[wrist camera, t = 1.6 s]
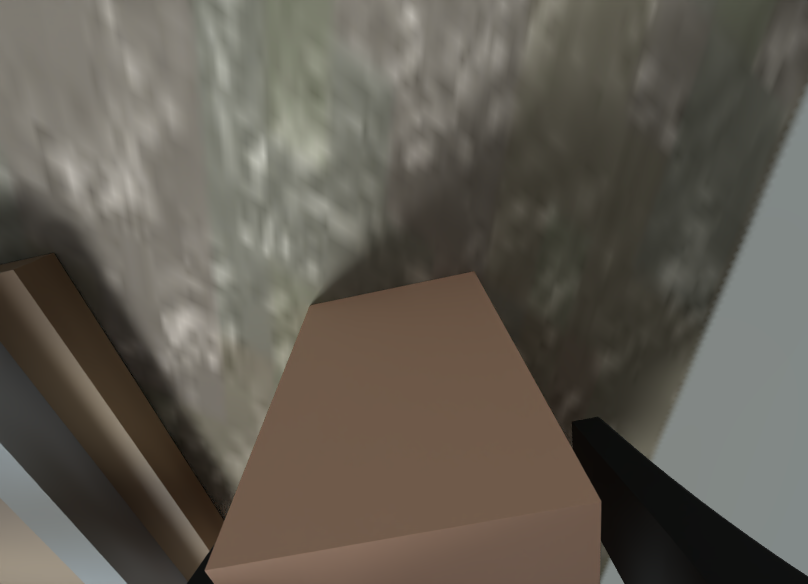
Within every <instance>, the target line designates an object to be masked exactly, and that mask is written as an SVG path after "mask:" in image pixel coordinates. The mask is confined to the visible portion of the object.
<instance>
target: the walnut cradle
mask: <svg viewBox="0 0 808 584" xmlns="http://www.w3.org/2000/svg"><path fill="white" fill-rule="evenodd" d="M223 523H224V520H223V518H222V517H221V515H220V514H219V512H218V511H217V509H216V507H215V506H214V504H213V503H212V501H211V500H210V498H209V496H208V495H207V493H206V492H205V490H204V489H203V487H202V485H201V484H200V482H199V481H198V479H197V478H196V476H195V474H194V473H193V471H192V470H191V468H190V467H189V465H188V463H187V462H186V460H185V459H184V457H183V456H182V454H181V452H180V451H179V449H178V448H177V446H176V445H175V443H174V441H173V440H172V438H171V437H170V435H169V434H168V432H167V430H166V429H165V427H164V426H163V424H162V423H161V421H160V419H159V418H158V416H157V415H156V413H155V412H154V410H153V408H152V407H151V405H150V404H149V402H148V401H147V399H146V397H145V396H144V394H143V393H142V391H141V390H140V388H139V386H138V385H137V383H136V382H135V380H134V379H133V377H132V375H131V374H130V372H129V371H128V369H127V368H126V366H125V364H124V363H123V361H122V360H121V358H120V357H119V355H118V353H117V352H116V350H115V349H114V347H113V346H112V344H111V342H110V341H109V339H108V338H107V336H106V335H105V333H104V331H103V330H102V328H101V327H100V325H99V324H98V322H97V320H96V319H95V317H94V316H93V314H92V313H91V311H90V309H89V308H88V306H87V305H86V303H85V302H84V300H83V298H82V297H81V295H80V294H79V292H78V290H77V289H76V287H75V286H74V284H73V283H72V281H71V279H70V278H69V276H68V275H67V273H66V272H65V270H64V268H63V267H62V265H61V264H60V262H59V261H58V259H57V257H56V256H55V254H54V253H51V254H46V255H42V256H37V257H33V258H28V259H24V260H19V261H15V262H10V263H6V264H1V265H0V584H187V582H188V581H189V579H190V578H191V577H192V575H193V574H194V572H195V571H196V570H197V568H198V567H199V565H200V564H201V562H202V561H203V560H204V558H205V557H206V555H207V554H208V552H209V551H210V550H211V548H212V547H213V545H214V544H215V542H216V541H217V538H218V535H219V533H220V530H221V528H222V525H223Z"/></svg>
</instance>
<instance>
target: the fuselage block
mask: <svg viewBox="0 0 808 584" xmlns="http://www.w3.org/2000/svg"><path fill="white" fill-rule="evenodd" d="M600 548H601V500H600V498H599V496H598V494H597V493H596V491H595V489H594V487H593V485H592V483H591V482H590V480H589V478H588V476H587V474H586V473H585V471H584V469H583V467H582V465H581V464H580V462H579V460H578V458H577V456H576V455H575V453H574V451H573V449H572V447H571V445H570V444H569V442H568V440H567V438H566V436H565V435H564V433H563V431H562V429H561V427H560V426H559V424H558V422H557V420H556V418H555V417H554V415H553V413H552V411H551V409H550V408H549V406H548V404H547V402H546V400H545V398H544V397H543V395H542V393H541V391H540V389H539V388H538V386H537V384H536V382H535V380H534V379H533V377H532V375H531V373H530V371H529V370H528V368H527V366H526V364H525V362H524V360H523V359H522V357H521V355H520V353H519V351H518V350H517V348H516V346H515V344H514V342H513V341H512V339H511V337H510V335H509V333H508V332H507V330H506V328H505V326H504V324H503V322H502V321H501V319H500V317H499V315H498V313H497V312H496V310H495V308H494V306H493V304H492V303H491V301H490V299H489V297H488V295H487V294H486V292H485V290H484V288H483V286H482V285H481V283H480V281H479V279H478V277H477V275H476V274H475V272H474V271H473V272H468V273H464V274H459V275H454V276H449V277H444V278H439V279H435V280H430V281H425V282H420V283H415V284H410V285H406V286H401V287H396V288H391V289H386V290H382V291H377V292H372V293H367V294H362V295H357V296H353V297H348V298H343V299H338V300H333V301H329V302H324V303H319V304H314V305H310V307H309V309H308V312H307V314H306V317H305V319H304V322H303V324H302V327H301V329H300V332H299V334H298V337H297V339H296V342H295V344H294V347H293V349H292V352H291V354H290V357H289V359H288V362H287V364H286V367H285V369H284V372H283V374H282V377H281V380H280V382H279V385H278V387H277V390H276V392H275V395H274V397H273V400H272V402H271V405H270V407H269V410H268V412H267V415H266V417H265V420H264V422H263V425H262V427H261V430H260V432H259V435H258V437H257V440H256V442H255V445H254V447H253V450H252V452H251V455H250V458H249V460H248V463H247V465H246V468H245V470H244V473H243V475H242V478H241V480H240V483H239V485H238V488H237V490H236V493H235V495H234V498H233V500H232V503H231V505H230V508H229V510H228V513H227V515H226V518H225V520H224V523H223V525H222V528H221V530H220V533H219V535H218V538H217V541H216V543H215V546H214V548H213V551H212V553H211V556H210V558H209V561H208V563H207V566H206V568H205V572H206V573H207V575H208V576H209V577H210V579H211V580H212V582H213V583H214V584H600Z"/></svg>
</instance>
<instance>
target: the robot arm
mask: <svg viewBox="0 0 808 584" xmlns="http://www.w3.org/2000/svg"><path fill="white" fill-rule="evenodd" d="M572 439H573V451H574V453H575V455H576V456H577V458H578V460H579V462H580V464H581V465H582V467H583V469H584V471H585V473H586V474H587V476H588V478H589V480H590V482H591V483H592V485H593V487H594V489H595V491H596V493H597V494H598V496H599V498H600V500H601V541H602V543H603V545H604V547H605V549H606V551H607V553H608V554H609V556H610V558H611V560H612V562H613V564H614V565H615V567H616V569H617V571H618V573H619V575H620V576H621V578H622V580H623V582H624V584H808V576H807V575H805V574H804V573H802V572H801V571H799V570H798V569H796V568H794V567H793V566H791V565H790V564H788V563H787V562H785V561H784V560H783V559H781V558H780V557H778V556H776V555H775V554H774V553H772V552H771V551H769V550H768V549H767V548H765V547H764V546H762V545H761V544H759V543H758V542H757V541H755V540H754V539H752V538H751V537H749V536H748V535H747V534H745V533H744V532H743V531H741V530H740V529H738V528H737V527H736V526H734V525H733V524H731V523H730V522H728V521H727V520H726V519H725V518H723V517H722V516H720V515H719V514H718V513H716V512H715V511H714V510H712V509H711V508H710V507H708V506H707V505H706V504H704V503H703V502H702V501H700V500H699V499H698V498H697V497H695V496H694V495H693V494H692V493H690V492H689V491H688V490H686V489H685V488H684V487H683V486H681V485H680V484H678V483H677V482H676V481H675V480H674V479H672V478H671V477H670V476H668V475H667V474H666V473H665V472H664V471H662V470H661V469H660V468H659V467H657V466H656V465H655V464H654V463H652V462H651V461H650V460H649V459H648V458H646V457H645V456H644V455H643V454H642V453H640V452H639V451H638V450H637V449H636V448H634V447H633V446H632V445H631V444H630V443H629V442H627V441H626V440H625V439H624V438H623V437H621V436H620V435H619V434H618V433H617V432H616V431H615V430H613V429H612V428H611V427H610V426H609V425H608V424H606V423H605V422H604V421H603V420H602V419H600V418H599V417H594V418H589V419H584V420H578V421H573V422H572ZM215 543H216V542H215ZM214 546H215V544H214V545H213V547H212V548H211V550H210V551H209V552H208V554H207V555H206V557H205V558H204V560H203V561H202V562H201V564H200V565H199V567H198V568H197V570H196V571H195V572H194V574H193V575H192V577H191V578H190V579H189V581H188V582H187V584H214V583H213V582H212V580H211V579H210V577H209V576H208V575H207V573H206V572H205V568H206V566H207V563H208V561H209V558H210V556H211V553H212V551H213V548H214Z"/></svg>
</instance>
